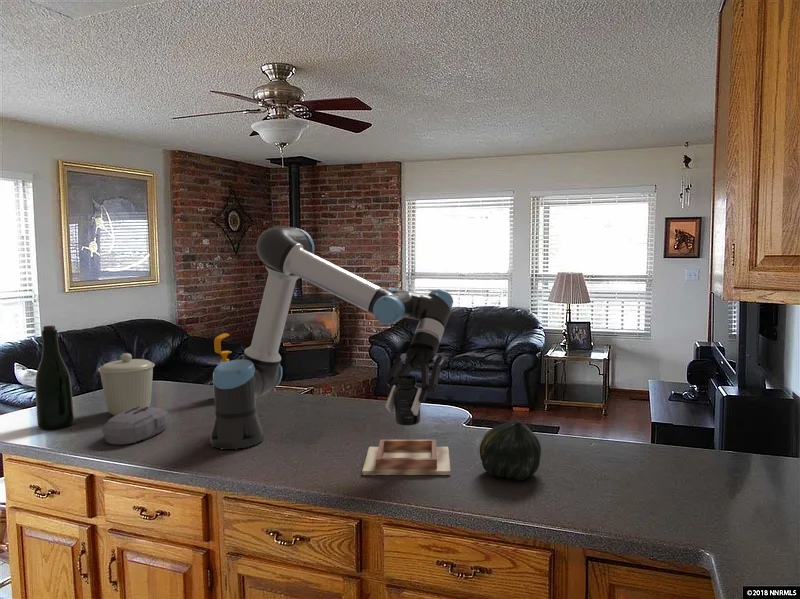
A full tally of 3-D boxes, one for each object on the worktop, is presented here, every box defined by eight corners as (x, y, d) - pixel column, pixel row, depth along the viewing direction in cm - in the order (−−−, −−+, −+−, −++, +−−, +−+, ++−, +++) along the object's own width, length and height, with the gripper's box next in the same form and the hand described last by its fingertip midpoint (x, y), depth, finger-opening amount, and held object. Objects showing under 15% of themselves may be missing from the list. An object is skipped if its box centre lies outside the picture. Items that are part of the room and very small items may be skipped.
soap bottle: (243, 397, 232) (240, 333, 229) (221, 402, 225) (218, 336, 223) (230, 394, 238) (227, 331, 236) (209, 398, 231) (206, 334, 229)
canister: (139, 403, 227) (135, 347, 225) (167, 410, 216) (164, 351, 214) (90, 415, 212) (86, 355, 210) (118, 423, 201) (115, 360, 199)
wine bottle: (55, 431, 193) (47, 328, 190) (30, 429, 197) (22, 327, 194) (81, 422, 203) (75, 323, 200) (57, 420, 207) (50, 323, 203)
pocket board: (362, 475, 153) (361, 461, 153) (369, 450, 171) (369, 438, 171) (450, 475, 152) (450, 461, 152) (448, 450, 170) (448, 437, 169)
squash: (476, 440, 162) (482, 409, 151) (533, 442, 161) (543, 411, 150) (479, 491, 152) (485, 462, 141) (539, 493, 152) (550, 464, 141)
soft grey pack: (136, 425, 200) (91, 445, 180) (135, 400, 199) (89, 417, 180) (177, 428, 196) (134, 449, 177) (175, 402, 195) (132, 420, 176)
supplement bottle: (393, 418, 163) (392, 374, 162) (419, 417, 164) (418, 373, 163) (395, 426, 157) (394, 380, 155) (422, 425, 157) (421, 379, 156)
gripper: (463, 348, 168) (440, 422, 155) (400, 344, 177) (373, 414, 164) (456, 332, 162) (431, 407, 150) (391, 328, 172) (362, 399, 159)
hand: (401, 410), depth 157 cm, fingers closed on supplement bottle, 7 cm apart
